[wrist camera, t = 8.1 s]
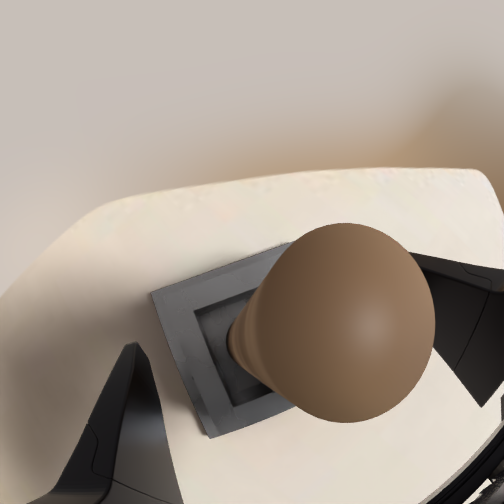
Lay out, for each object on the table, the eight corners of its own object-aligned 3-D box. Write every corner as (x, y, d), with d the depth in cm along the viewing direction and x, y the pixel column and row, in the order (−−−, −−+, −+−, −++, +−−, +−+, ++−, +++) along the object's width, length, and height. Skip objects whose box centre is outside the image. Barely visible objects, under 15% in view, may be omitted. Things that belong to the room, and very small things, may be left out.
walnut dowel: (266, 379, 16) (394, 442, 4) (215, 352, 16) (215, 371, 4) (292, 329, 17) (449, 277, 5) (243, 303, 17) (312, 190, 5)
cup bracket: (349, 375, 17) (379, 382, 13) (210, 435, 15) (207, 460, 11) (293, 243, 19) (310, 219, 15) (152, 293, 17) (134, 281, 13)
